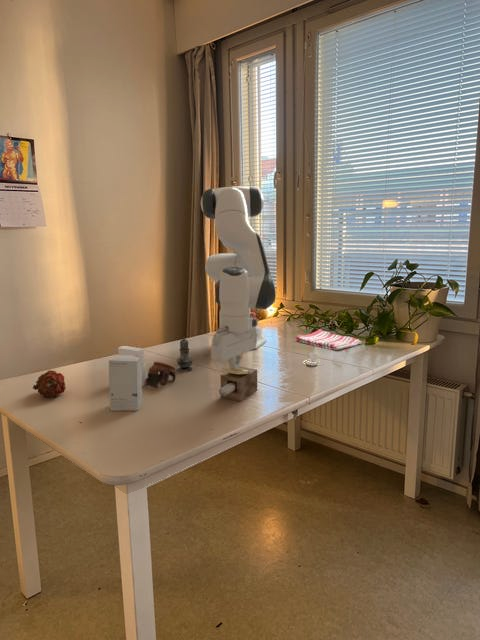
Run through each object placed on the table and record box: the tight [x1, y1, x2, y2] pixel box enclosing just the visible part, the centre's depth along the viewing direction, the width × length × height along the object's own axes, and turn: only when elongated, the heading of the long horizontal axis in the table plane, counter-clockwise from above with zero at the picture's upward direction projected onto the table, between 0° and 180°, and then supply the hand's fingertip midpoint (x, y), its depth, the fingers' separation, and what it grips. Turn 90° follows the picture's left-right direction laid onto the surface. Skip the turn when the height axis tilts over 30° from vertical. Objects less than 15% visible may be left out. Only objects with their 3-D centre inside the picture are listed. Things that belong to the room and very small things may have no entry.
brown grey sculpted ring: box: [145, 361, 177, 389], centre depth 154 cm, size 12×10×8 cm
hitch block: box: [220, 366, 258, 402], centre depth 144 cm, size 10×7×7 cm
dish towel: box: [295, 328, 362, 351], centre depth 204 cm, size 17×23×4 cm
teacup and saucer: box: [302, 351, 319, 367], centre depth 175 cm, size 9×8×4 cm
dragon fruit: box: [32, 369, 67, 399], centre depth 144 cm, size 8×8×12 cm
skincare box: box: [108, 354, 143, 412], centre depth 134 cm, size 8×6×15 cm
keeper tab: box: [220, 367, 249, 374], centre depth 140 cm, size 7×6×1 cm
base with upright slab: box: [117, 345, 148, 387], centre depth 153 cm, size 9×9×12 cm
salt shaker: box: [176, 336, 194, 373], centre depth 168 cm, size 6×6×12 cm
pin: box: [218, 381, 237, 397], centre depth 142 cm, size 16×4×4 cm, turn 149°
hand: (234, 369), depth 140 cm, fingers closed
